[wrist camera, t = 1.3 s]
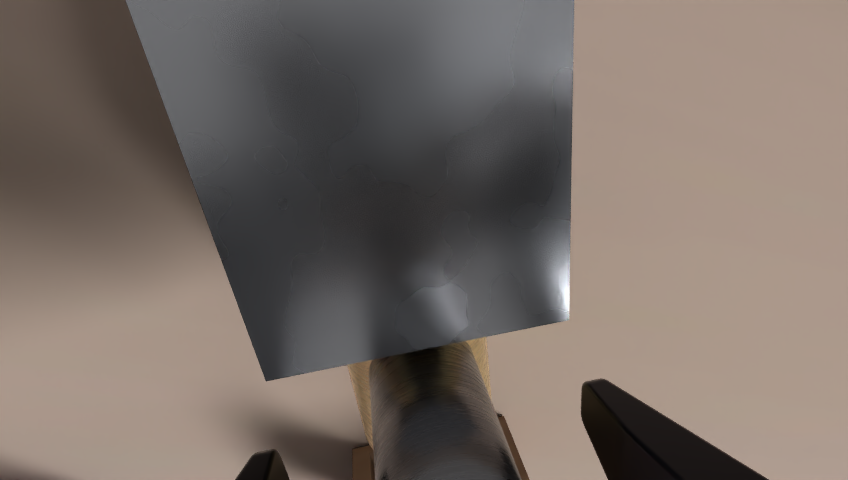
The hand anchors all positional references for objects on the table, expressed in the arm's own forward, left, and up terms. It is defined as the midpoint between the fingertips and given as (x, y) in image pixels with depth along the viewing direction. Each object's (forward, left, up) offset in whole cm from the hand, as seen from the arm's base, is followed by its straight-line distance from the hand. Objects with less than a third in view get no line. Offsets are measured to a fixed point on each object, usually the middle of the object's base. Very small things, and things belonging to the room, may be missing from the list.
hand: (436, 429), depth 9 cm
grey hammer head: (0, -5, -6) cm, 7 cm away
